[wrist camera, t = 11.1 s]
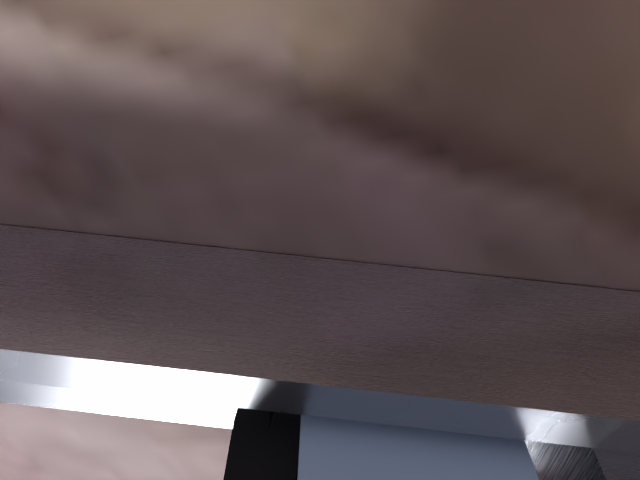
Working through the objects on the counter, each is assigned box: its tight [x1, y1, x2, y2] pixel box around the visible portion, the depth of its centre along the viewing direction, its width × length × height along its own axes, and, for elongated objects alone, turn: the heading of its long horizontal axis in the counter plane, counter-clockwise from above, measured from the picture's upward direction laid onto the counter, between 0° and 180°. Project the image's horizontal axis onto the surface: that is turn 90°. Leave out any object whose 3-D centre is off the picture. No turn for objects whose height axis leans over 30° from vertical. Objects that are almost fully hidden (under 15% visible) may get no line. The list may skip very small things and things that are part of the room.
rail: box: [0, 225, 640, 480], centre depth 10 cm, size 18×5×6 cm, turn 86°
